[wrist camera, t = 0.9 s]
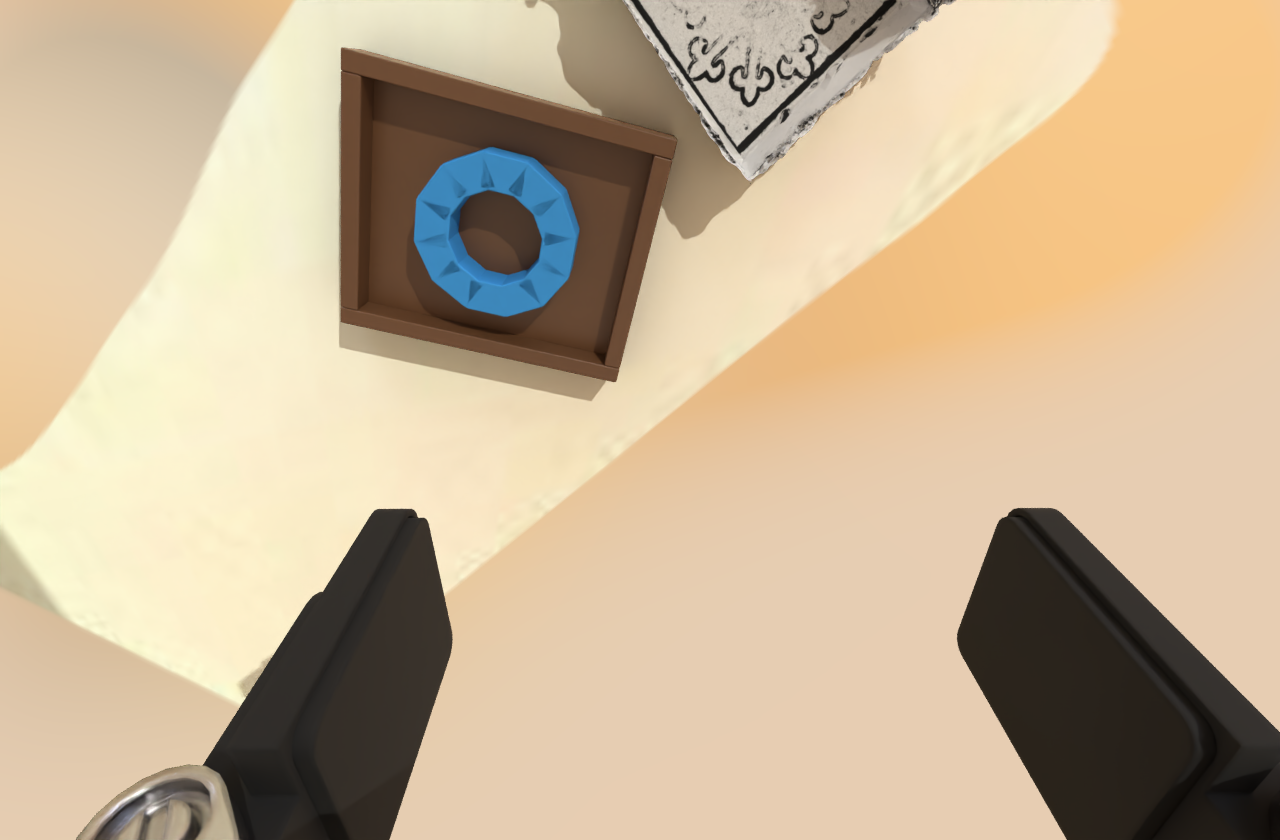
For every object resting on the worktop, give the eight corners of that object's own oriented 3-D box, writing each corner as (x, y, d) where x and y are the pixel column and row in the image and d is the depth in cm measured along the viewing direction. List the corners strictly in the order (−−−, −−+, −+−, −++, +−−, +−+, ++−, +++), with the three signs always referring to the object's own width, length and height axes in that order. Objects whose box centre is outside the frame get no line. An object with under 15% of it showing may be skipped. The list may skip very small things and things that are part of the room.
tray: (359, 49, 25) (340, 47, 23) (674, 135, 27) (677, 140, 25) (356, 309, 30) (340, 322, 29) (616, 367, 32) (616, 382, 30)
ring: (432, 130, 26) (419, 134, 24) (590, 172, 27) (588, 178, 25) (422, 284, 29) (410, 296, 28) (563, 316, 30) (559, 330, 29)
